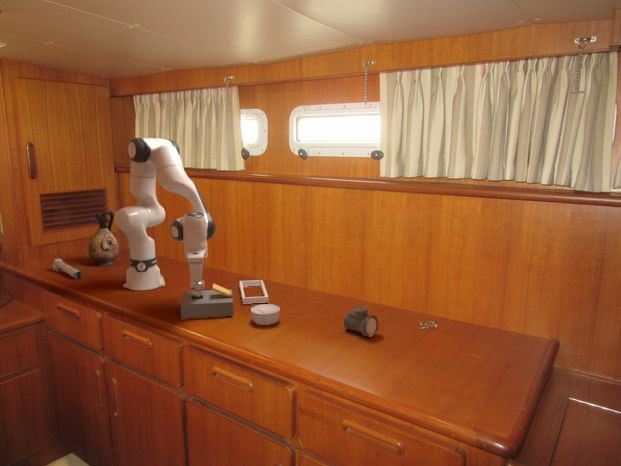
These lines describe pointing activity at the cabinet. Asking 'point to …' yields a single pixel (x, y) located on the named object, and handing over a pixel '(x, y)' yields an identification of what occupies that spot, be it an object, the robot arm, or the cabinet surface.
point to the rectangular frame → (253, 299)
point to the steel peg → (197, 291)
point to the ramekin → (265, 314)
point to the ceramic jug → (103, 241)
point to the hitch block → (206, 305)
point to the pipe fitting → (361, 321)
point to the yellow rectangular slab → (222, 290)
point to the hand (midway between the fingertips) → (197, 286)
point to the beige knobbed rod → (66, 268)
